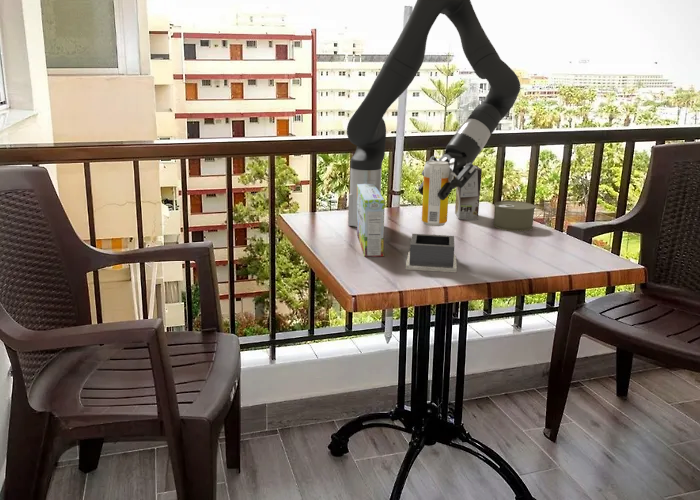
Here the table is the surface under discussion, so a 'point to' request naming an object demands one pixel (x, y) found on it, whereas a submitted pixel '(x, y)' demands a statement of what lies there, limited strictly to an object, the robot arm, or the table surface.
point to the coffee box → (469, 197)
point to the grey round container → (513, 215)
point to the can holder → (431, 253)
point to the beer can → (434, 193)
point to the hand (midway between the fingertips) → (430, 195)
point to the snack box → (370, 220)
